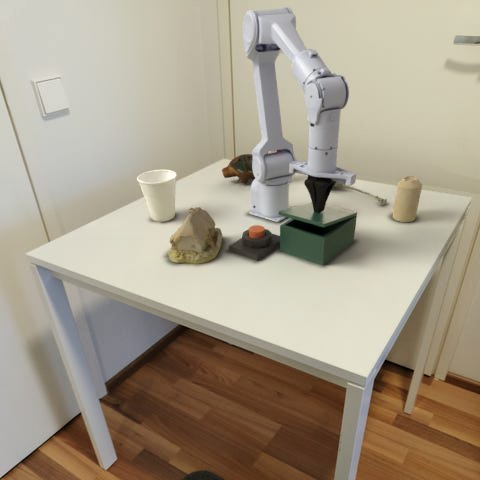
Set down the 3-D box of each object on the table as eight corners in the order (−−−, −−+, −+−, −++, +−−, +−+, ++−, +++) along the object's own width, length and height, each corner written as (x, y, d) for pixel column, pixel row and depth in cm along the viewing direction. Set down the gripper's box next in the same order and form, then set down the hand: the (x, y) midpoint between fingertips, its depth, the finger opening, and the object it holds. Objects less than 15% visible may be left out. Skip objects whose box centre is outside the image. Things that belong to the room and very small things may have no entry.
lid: (324, 227, 89) (324, 224, 89) (278, 214, 95) (278, 211, 95) (356, 215, 99) (357, 212, 99) (313, 204, 105) (314, 201, 105)
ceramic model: (208, 268, 96) (203, 224, 90) (161, 261, 99) (154, 219, 93) (230, 238, 107) (227, 198, 101) (187, 233, 110) (182, 194, 104)
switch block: (229, 251, 102) (228, 238, 100) (257, 234, 108) (257, 221, 106) (256, 261, 98) (256, 248, 96) (284, 242, 104) (284, 230, 102)
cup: (137, 222, 117) (129, 180, 110) (156, 208, 124) (150, 167, 117) (170, 227, 113) (164, 184, 107) (188, 212, 121) (183, 171, 114)
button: (245, 236, 101) (245, 229, 100) (255, 230, 103) (255, 223, 102) (258, 241, 99) (258, 233, 98) (268, 234, 101) (268, 227, 100)
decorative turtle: (276, 183, 135) (275, 156, 129) (226, 191, 133) (223, 165, 128) (268, 170, 142) (267, 145, 137) (221, 179, 141) (218, 153, 136)
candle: (416, 222, 109) (424, 182, 103) (392, 221, 110) (399, 181, 104) (414, 213, 114) (422, 174, 108) (391, 212, 115) (398, 173, 109)
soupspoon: (330, 183, 135) (314, 190, 132) (330, 172, 133) (314, 179, 130) (392, 201, 120) (376, 209, 117) (393, 189, 118) (377, 197, 115)
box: (322, 265, 95) (324, 238, 91) (279, 251, 101) (279, 225, 97) (353, 241, 103) (356, 215, 99) (312, 229, 109) (313, 204, 105)
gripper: (366, 146, 87) (358, 212, 95) (303, 135, 95) (300, 198, 103) (348, 155, 83) (341, 224, 91) (283, 144, 91) (282, 208, 99)
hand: (318, 211), depth 97 cm, fingers closed
